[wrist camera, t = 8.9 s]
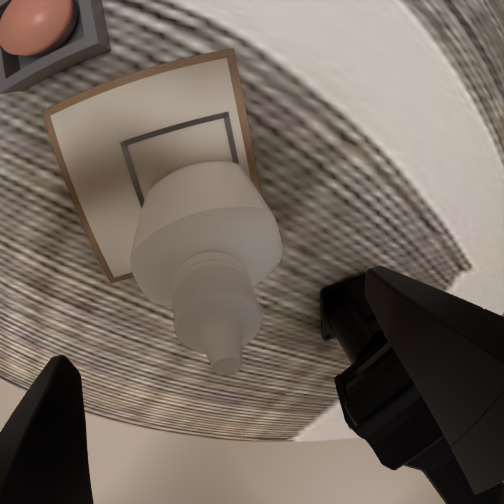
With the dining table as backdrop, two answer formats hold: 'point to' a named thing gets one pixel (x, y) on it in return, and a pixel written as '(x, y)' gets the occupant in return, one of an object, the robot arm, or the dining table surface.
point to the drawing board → (146, 142)
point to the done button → (36, 26)
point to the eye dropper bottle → (207, 256)
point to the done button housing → (56, 50)
